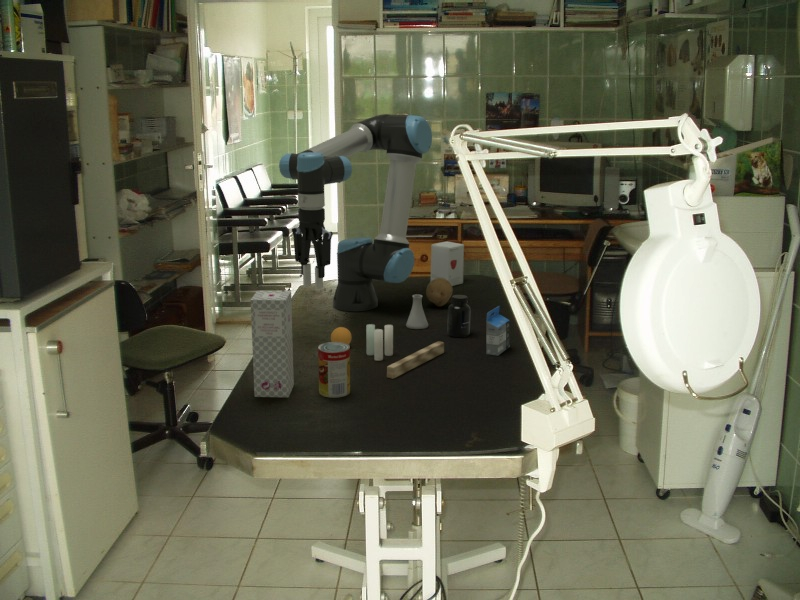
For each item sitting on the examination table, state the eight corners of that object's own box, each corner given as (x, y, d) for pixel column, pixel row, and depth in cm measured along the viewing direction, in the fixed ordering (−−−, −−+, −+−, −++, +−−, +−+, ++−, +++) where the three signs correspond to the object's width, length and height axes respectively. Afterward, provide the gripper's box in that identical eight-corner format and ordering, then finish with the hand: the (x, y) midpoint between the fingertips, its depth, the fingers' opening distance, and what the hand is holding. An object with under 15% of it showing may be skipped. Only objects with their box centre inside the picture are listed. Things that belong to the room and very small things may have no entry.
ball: (339, 342, 260) (339, 323, 259) (355, 346, 257) (355, 326, 255) (326, 348, 255) (326, 328, 254) (343, 351, 252) (343, 332, 251)
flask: (406, 330, 273) (406, 298, 270) (405, 323, 280) (405, 292, 277) (429, 329, 273) (429, 298, 271) (427, 323, 280) (428, 292, 278)
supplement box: (448, 287, 323) (449, 247, 319) (429, 283, 329) (430, 244, 325) (463, 283, 329) (464, 244, 325) (445, 279, 335) (446, 240, 331)
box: (254, 396, 219) (250, 299, 212) (261, 384, 227) (257, 290, 220) (288, 397, 219) (285, 300, 212) (293, 385, 227) (291, 291, 220)
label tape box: (498, 356, 249) (499, 314, 246) (484, 354, 251) (486, 312, 248) (509, 347, 257) (511, 307, 253) (497, 345, 259) (498, 305, 255)
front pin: (369, 352, 252) (369, 323, 250) (376, 353, 251) (376, 325, 249) (364, 354, 250) (364, 325, 248) (371, 355, 249) (371, 327, 247)
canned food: (342, 384, 227) (341, 340, 224) (355, 394, 221) (355, 348, 218) (314, 389, 224) (313, 344, 221) (326, 399, 217) (325, 353, 214)
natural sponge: (444, 311, 292) (444, 282, 290) (420, 308, 297) (421, 279, 294) (456, 305, 300) (457, 277, 297) (433, 301, 304) (433, 273, 301)
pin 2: (387, 352, 252) (387, 324, 250) (394, 354, 251) (394, 325, 248) (382, 354, 250) (382, 326, 248) (389, 356, 249) (389, 327, 246)
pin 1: (377, 357, 248) (377, 328, 246) (384, 358, 247) (384, 329, 244) (372, 359, 246) (372, 330, 244) (379, 361, 245) (379, 332, 242)
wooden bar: (438, 351, 253) (438, 341, 252) (444, 352, 252) (444, 342, 251) (386, 377, 232) (386, 366, 232) (393, 378, 231) (393, 368, 231)
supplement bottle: (468, 338, 265) (469, 300, 261) (445, 337, 266) (446, 298, 263) (471, 331, 271) (472, 294, 268) (449, 330, 272) (449, 293, 269)
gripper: (280, 206, 252) (282, 285, 259) (326, 212, 243) (328, 294, 250) (297, 203, 258) (299, 280, 265) (343, 208, 249) (344, 288, 256)
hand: (313, 287), depth 257 cm, fingers open, 4 cm apart
